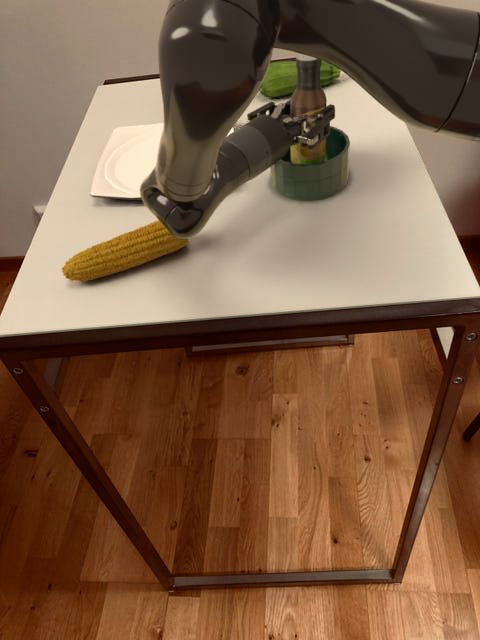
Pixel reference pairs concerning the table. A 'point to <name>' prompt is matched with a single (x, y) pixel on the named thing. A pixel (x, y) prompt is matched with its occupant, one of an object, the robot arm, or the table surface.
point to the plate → (127, 161)
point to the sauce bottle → (307, 106)
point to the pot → (314, 171)
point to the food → (122, 252)
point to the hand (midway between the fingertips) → (316, 105)
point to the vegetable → (291, 78)
